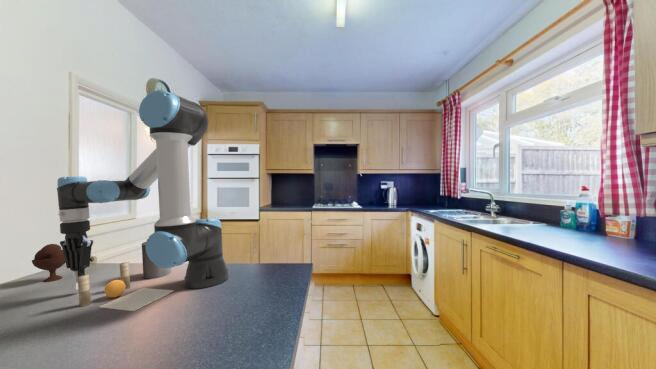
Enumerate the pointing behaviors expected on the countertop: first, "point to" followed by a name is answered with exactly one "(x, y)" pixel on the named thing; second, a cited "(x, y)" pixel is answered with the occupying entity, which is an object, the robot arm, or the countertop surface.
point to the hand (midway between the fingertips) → (79, 288)
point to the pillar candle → (152, 266)
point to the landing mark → (136, 299)
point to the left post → (84, 290)
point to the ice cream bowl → (50, 260)
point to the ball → (115, 288)
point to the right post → (125, 274)
